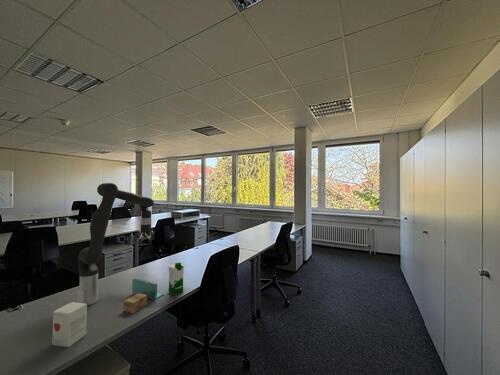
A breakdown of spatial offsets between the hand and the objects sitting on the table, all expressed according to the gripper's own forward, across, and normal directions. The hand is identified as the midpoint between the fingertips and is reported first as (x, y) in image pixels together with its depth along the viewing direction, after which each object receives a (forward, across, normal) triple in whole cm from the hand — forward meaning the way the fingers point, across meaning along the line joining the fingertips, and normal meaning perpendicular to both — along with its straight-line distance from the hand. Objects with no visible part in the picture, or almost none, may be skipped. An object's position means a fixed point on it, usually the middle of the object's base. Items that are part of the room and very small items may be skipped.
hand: (145, 244), depth 169 cm
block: (+28, +23, -36) cm, 51 cm away
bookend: (+28, +19, -20) cm, 39 cm away
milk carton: (+28, +35, -12) cm, 46 cm away
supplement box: (+29, +14, -66) cm, 74 cm away
